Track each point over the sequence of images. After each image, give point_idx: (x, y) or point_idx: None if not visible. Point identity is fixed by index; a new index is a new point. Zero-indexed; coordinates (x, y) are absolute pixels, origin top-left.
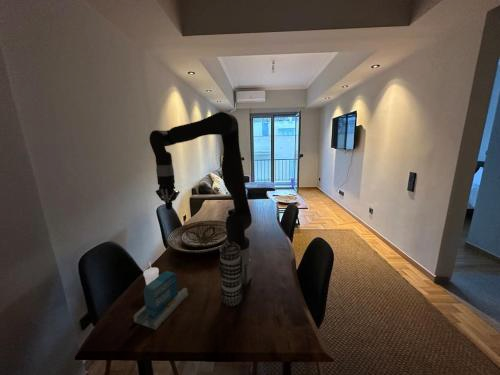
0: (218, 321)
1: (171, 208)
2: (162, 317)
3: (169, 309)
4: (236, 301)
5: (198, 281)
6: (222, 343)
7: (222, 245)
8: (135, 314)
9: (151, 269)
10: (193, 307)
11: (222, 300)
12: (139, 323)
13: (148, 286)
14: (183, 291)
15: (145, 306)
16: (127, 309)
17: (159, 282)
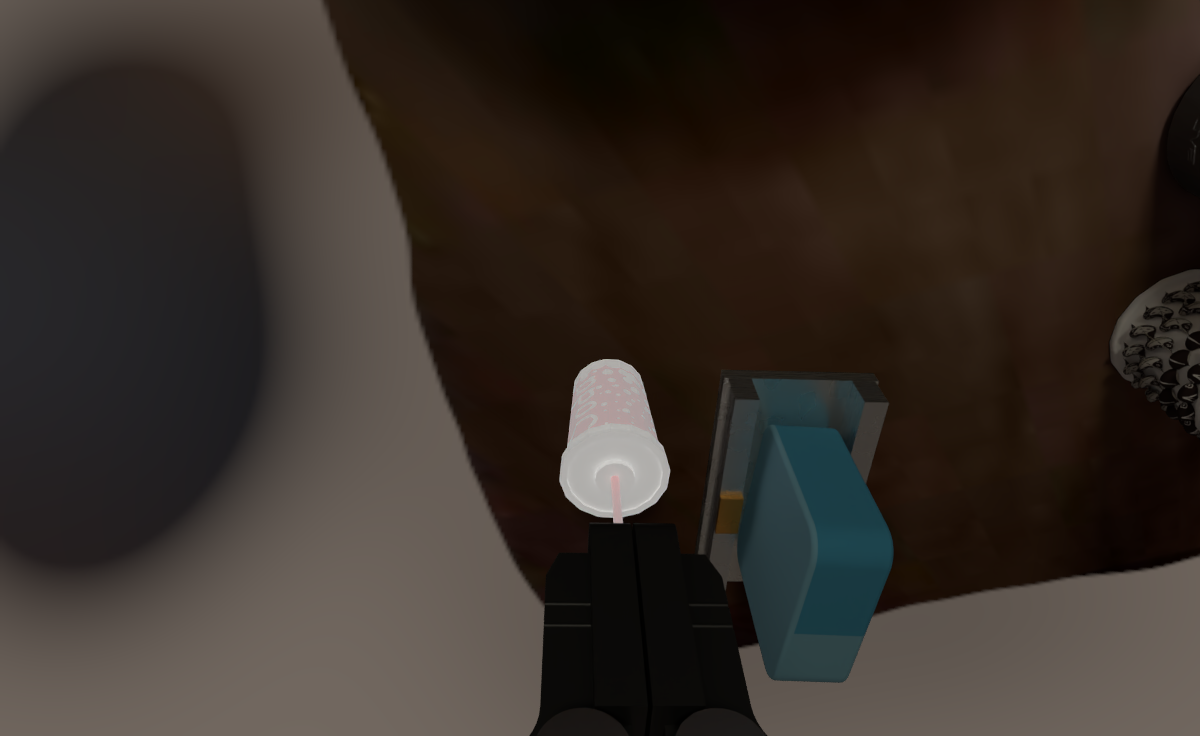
0: (1104, 463)
1: (671, 537)
2: None
3: None
4: None
5: (889, 235)
6: (1136, 538)
7: None
8: None
9: (594, 455)
10: (942, 431)
11: (1133, 385)
12: (728, 580)
13: (796, 677)
14: (877, 428)
15: (719, 560)
16: (586, 529)
17: (843, 643)
